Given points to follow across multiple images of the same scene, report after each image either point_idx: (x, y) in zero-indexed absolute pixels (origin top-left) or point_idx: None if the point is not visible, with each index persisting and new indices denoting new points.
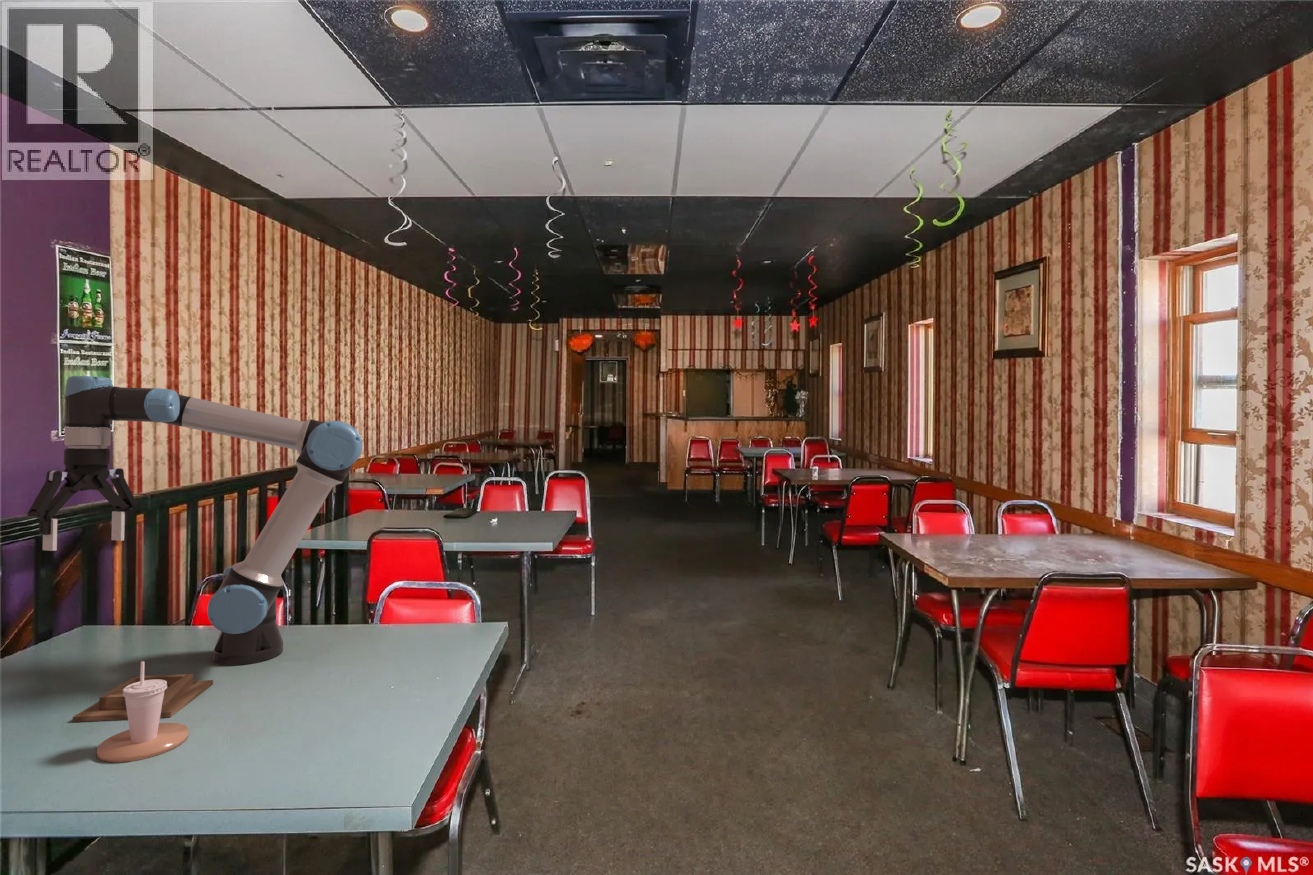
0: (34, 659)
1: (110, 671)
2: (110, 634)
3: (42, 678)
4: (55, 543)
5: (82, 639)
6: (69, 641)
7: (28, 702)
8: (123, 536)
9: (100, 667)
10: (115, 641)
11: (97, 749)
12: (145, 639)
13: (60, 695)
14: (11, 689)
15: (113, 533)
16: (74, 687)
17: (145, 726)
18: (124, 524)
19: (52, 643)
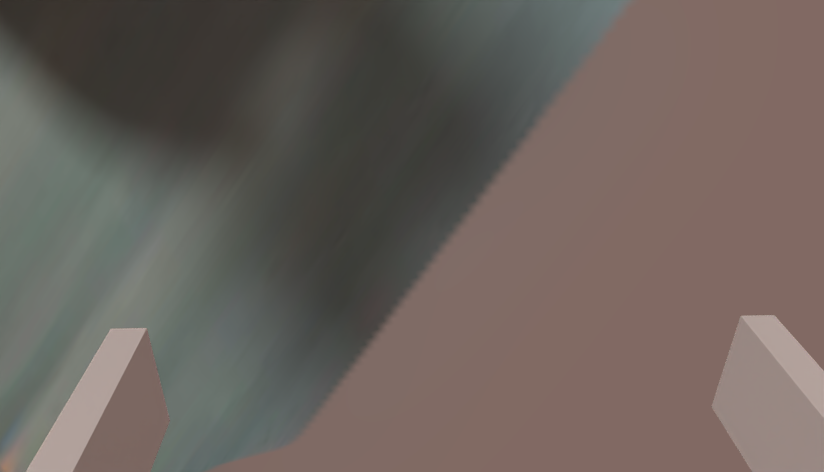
0: (276, 395)
1: (256, 128)
2: None
3: (366, 247)
4: (789, 358)
5: None
6: None
7: (510, 100)
8: (102, 356)
9: (245, 190)
10: (84, 361)
11: None
12: (22, 307)
13: (448, 68)
14: (447, 238)
15: (143, 456)
16: (389, 95)
17: None
18: (30, 464)
19: (180, 468)
